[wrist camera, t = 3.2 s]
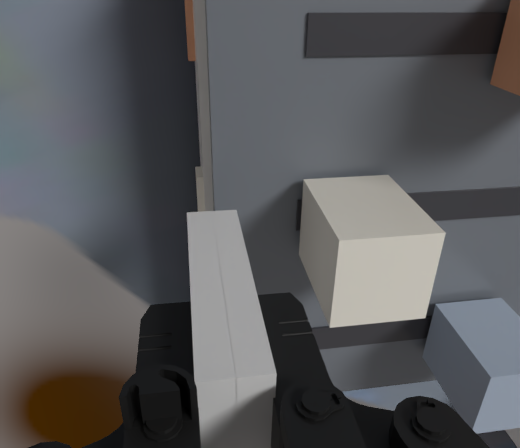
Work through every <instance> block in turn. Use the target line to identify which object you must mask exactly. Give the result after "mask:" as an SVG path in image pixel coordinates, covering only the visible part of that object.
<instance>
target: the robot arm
mask: <svg viewBox="0 0 520 448" xmlns="http://www.w3.org/2000/svg"><path fill="white" fill-rule="evenodd" d="M187 228H188V250H189V272H190V294H191V302H181V303H168V304H156V305H150V307H149V308H148V310H147V311H146V313H145V314H144V316H143V317H142V319H141V324H140V334H139V337H140V338H139V344H138V355H137V365H136V373H135V374H134V375H132V376H131V377H130V379H129V380H128V381H127V382H126V383H125V384H124V385H123V388H122V390H121V393H120V396H119V400H120V406H121V411H122V417H123V423H122V425H121V426H120V427H119V428H118V429H117V430H115V431H114V432H113V433H111V434H110V435H109V436H107V437H105V438H103V439H101V440H99V441H97V442H94V443H92V444H90V445H87V446H85V447H82V448H489V447H488V446H487V445H486V444H485V443H484V441H483V440H482V439H481V438H480V437H479V436H478V435H477V434H476V433H475V432H474V431H473V430H472V428H471V427H470V426H469V425H468V424H467V423H466V422H465V421H464V420H463V419H462V418H461V416H460V415H459V414H458V413H456V412H455V411H454V410H453V409H452V408H450V407H449V406H448V405H447V404H444V403H442V402H440V401H438V400H436V399H434V398H429V397H423V396H416V397H410V398H406V399H405V400H403V401H402V402H400V403H398V405H397V407H396V409H395V411H391V410H385V409H379V408H373V407H368V406H364V405H360V404H357V403H355V402H353V401H351V400H349V399H348V398H346V397H345V396H344V394H343V392H342V391H340V390H339V389H338V388H336V387H335V386H334V385H333V383H332V381H331V379H330V377H329V374H328V372H327V369H326V366H325V363H324V361H323V358H322V355H321V353H320V350H319V347H318V345H317V342H316V339H315V336H314V334H313V332H312V328H311V326H310V323H309V322H308V317H307V315H306V312H305V309H304V307H303V304H302V303H301V302H300V301H299V300H298V299H297V298H296V297H294V296H293V295H292V294H291V293H290V292H288V293H275V294H263V295H257V291H256V287H255V283H254V279H253V275H252V271H251V267H250V263H249V259H248V255H247V250H246V246H245V242H244V238H243V234H242V230H241V226H240V222H239V218H238V214H237V210H221V211H203V212H187ZM29 448H71V447H70V446H69V445H67V444H63V443H60V442H57V441H55V442H44V443H39V444H36V445H34V446H31V447H29Z"/></svg>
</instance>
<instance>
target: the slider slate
mask: <svg viewBox="0 0 520 448" xmlns="http://www.w3.org/2000/svg"><path fill="white" fill-rule="evenodd" d="M422 357H423V359H424V360H425V362H426V363H427V365H428V367H429V368H430V370H431V371H432V373H433V375H434V376H435V378H436V379H437V381H438V383H439V384H440V386H441V387H442V389H443V391H444V392H445V394H446V395H447V397H448V399H449V400H450V402H451V403H452V405H453V407H454V408H455V410H456V412H457V413H458V414H459V415H460V416H461V418H462V419H463V420H464V421H465V422H466V423H467V424H468V425H469V426H470V427H471V428H472V430H473V431H474V432H475V433H476V434H478V433H485V432H493V431H500V430H507V429H514V428H520V317H519V315H518V314H517V313H516V312H515V311H514V310H513V309H512V308H511V307H510V306H509V305H508V304H507V303H506V302H505V301H504V300H503V299H502V298H492V299H482V300H472V301H461V302H451V303H440V304H435V308H434V312H433V316H432V320H431V324H430V328H429V332H428V336H427V340H426V344H425V348H424V352H423V356H422Z"/></svg>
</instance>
